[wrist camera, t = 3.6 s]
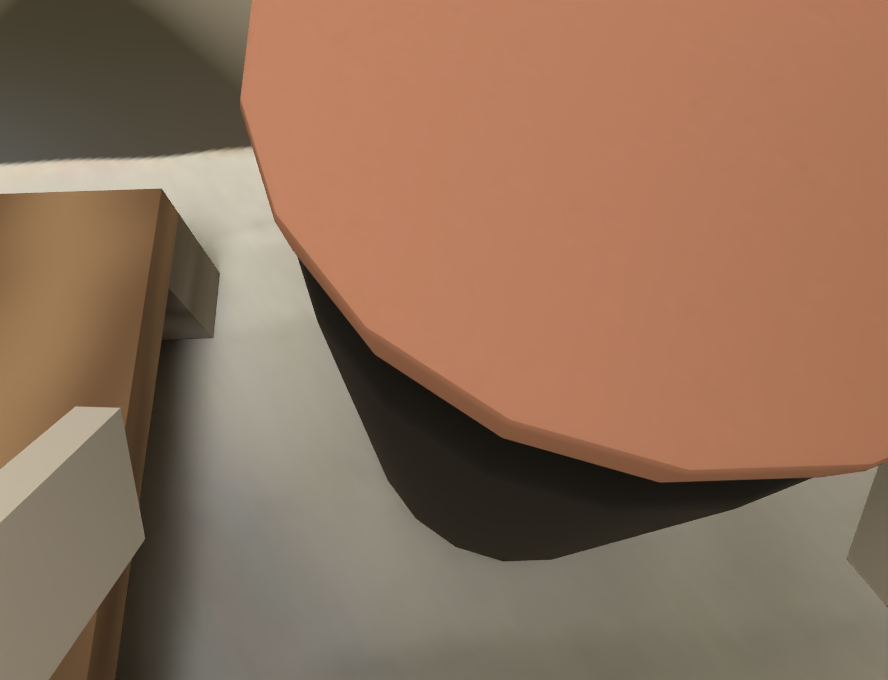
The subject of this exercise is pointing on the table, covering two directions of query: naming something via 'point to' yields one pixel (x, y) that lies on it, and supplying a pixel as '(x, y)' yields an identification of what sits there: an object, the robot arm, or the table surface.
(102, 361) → the walnut shelf
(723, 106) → the coffee jar
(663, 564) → the table surface
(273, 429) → the table surface
